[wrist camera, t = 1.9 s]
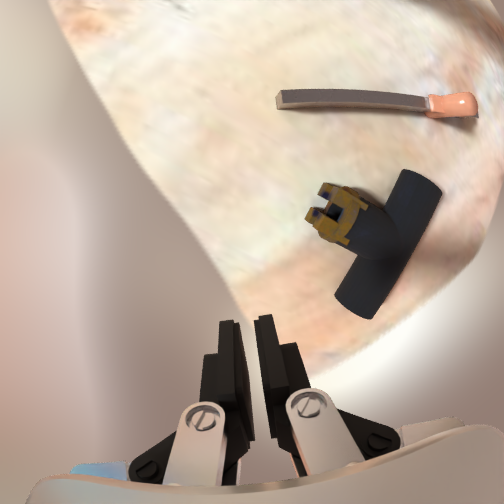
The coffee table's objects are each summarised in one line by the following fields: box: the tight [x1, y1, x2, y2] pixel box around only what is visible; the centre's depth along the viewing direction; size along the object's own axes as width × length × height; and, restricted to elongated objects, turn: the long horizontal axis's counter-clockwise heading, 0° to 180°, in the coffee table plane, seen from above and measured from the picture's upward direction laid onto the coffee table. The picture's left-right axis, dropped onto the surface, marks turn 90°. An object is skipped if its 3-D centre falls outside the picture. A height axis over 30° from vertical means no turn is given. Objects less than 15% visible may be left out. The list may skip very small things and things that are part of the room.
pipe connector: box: [305, 169, 442, 319], centre depth 26 cm, size 12×5×15 cm
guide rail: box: [276, 89, 479, 118], centre depth 20 cm, size 2×24×7 cm, turn 97°
